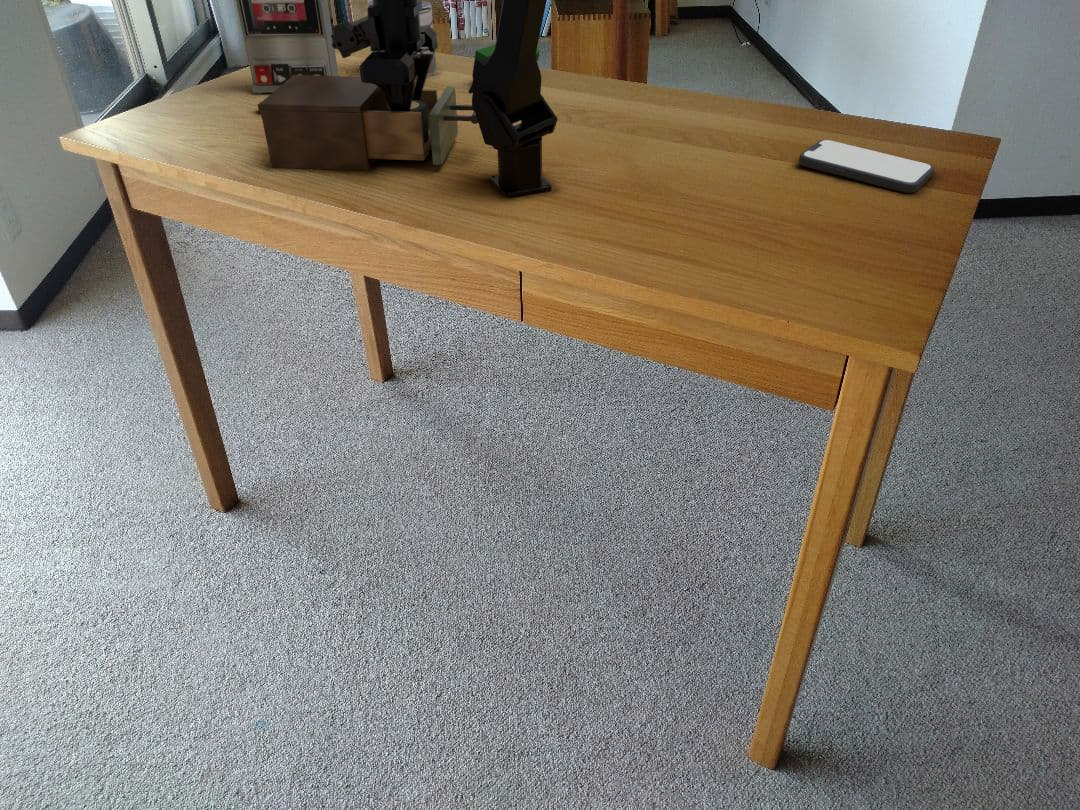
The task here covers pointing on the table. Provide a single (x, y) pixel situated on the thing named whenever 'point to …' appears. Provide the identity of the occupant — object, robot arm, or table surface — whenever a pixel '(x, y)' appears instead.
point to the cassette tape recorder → (286, 40)
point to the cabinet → (318, 123)
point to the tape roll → (421, 107)
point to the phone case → (867, 166)
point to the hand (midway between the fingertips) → (407, 118)
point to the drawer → (414, 127)
